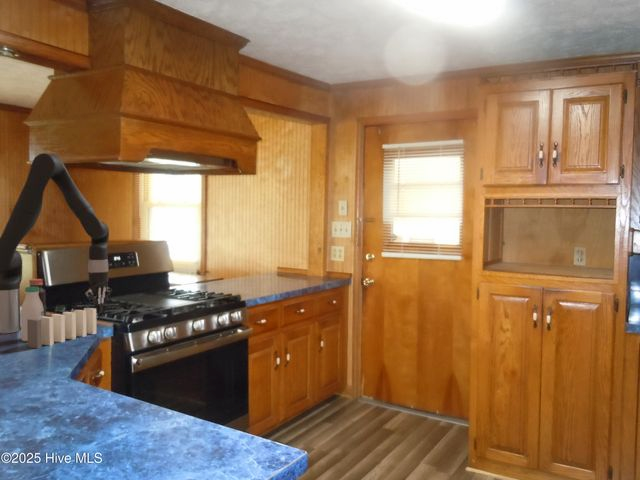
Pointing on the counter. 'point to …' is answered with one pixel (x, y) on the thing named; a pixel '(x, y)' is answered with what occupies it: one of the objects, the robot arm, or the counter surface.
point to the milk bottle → (30, 309)
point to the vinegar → (41, 291)
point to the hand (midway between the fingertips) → (98, 312)
